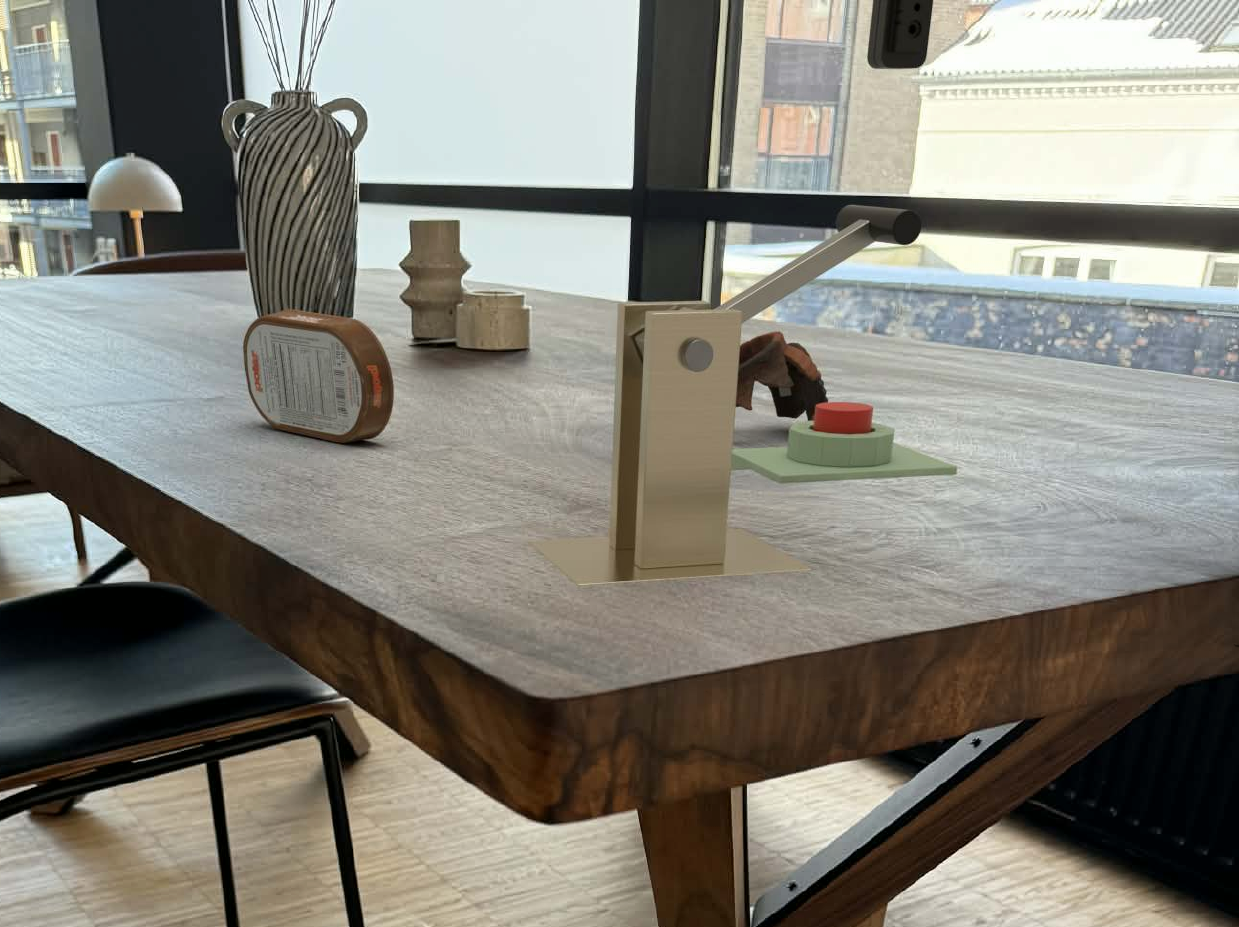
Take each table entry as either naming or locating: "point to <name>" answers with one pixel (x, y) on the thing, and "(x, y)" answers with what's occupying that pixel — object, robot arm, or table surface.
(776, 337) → the crumpled brown leather
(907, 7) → the robot arm
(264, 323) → the tin
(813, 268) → the lever
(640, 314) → the bracket
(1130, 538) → the table surface
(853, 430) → the button
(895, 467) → the housing
